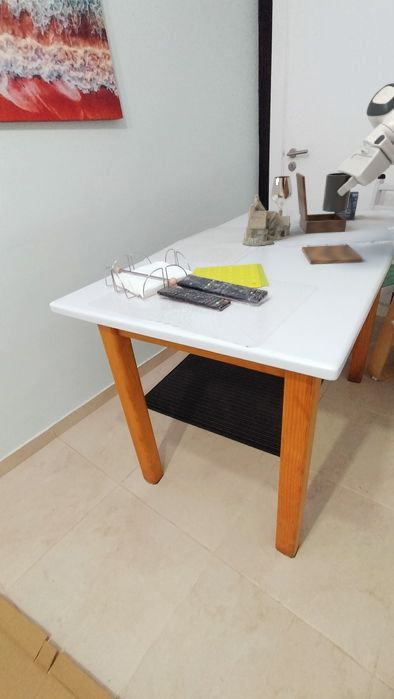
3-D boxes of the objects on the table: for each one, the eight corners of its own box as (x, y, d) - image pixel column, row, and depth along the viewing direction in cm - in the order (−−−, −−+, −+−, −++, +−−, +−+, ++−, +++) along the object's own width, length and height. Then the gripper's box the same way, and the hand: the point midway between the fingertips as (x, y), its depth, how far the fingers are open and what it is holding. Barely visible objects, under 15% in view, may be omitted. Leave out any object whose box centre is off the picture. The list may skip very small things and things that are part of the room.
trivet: (347, 247, 106) (347, 244, 106) (361, 262, 95) (362, 258, 94) (301, 250, 108) (301, 246, 107) (310, 264, 96) (310, 260, 96)
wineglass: (279, 230, 131) (282, 178, 122) (264, 227, 137) (266, 177, 128) (294, 226, 135) (298, 176, 125) (279, 223, 141) (282, 175, 131)
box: (332, 222, 136) (336, 193, 130) (333, 219, 140) (337, 191, 134) (353, 222, 133) (358, 193, 127) (353, 219, 137) (358, 191, 132)
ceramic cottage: (237, 244, 117) (240, 197, 110) (251, 234, 130) (255, 192, 122) (281, 250, 112) (288, 201, 104) (292, 239, 124) (299, 194, 116)
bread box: (335, 226, 131) (336, 212, 128) (344, 234, 120) (346, 220, 117) (299, 227, 132) (300, 215, 129) (305, 236, 121) (306, 222, 119)
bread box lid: (298, 172, 122) (295, 173, 122) (304, 176, 111) (302, 176, 111) (301, 213, 129) (299, 214, 129) (307, 220, 119) (305, 221, 119)
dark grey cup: (343, 206, 97) (348, 172, 93) (349, 211, 92) (356, 174, 87) (320, 208, 98) (324, 173, 93) (325, 212, 93) (330, 176, 88)
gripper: (360, 137, 94) (319, 178, 100) (388, 138, 77) (337, 188, 83) (373, 154, 96) (332, 194, 102) (404, 159, 79) (352, 206, 85)
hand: (335, 191), depth 93 cm, fingers closed on dark grey cup, 6 cm apart
